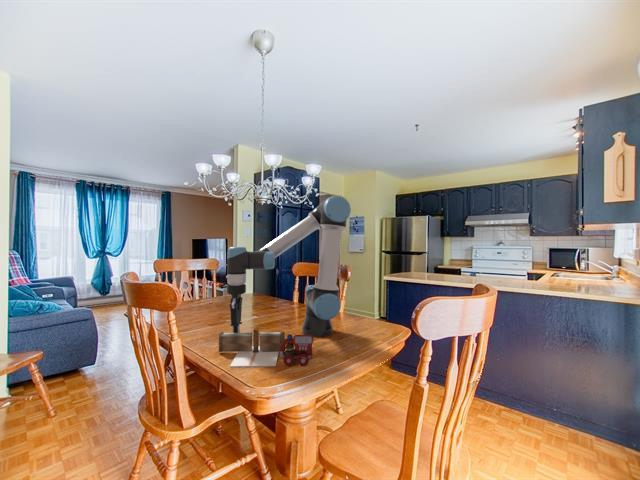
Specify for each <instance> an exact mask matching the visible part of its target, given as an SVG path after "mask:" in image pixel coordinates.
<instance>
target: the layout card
mask: <svg viewBox="0 0 640 480" xmlns="http://www.w3.org/2000/svg"><path fill="white" fill-rule="evenodd" d="M278 357H279V351H260V345H259V351H258V352H253V345H252V351H237V353H236V355H235V357H234V358H233V360H232V361H231V364H230V365H229V368H249V367H250V368H251V367H252V368H253V367H254V368H258V367H259V368H260V367H276V366H277V364H278V363H277V362H278V359H279V358H278Z"/></svg>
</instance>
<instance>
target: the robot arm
mask: <svg viewBox="0 0 640 480" xmlns="http://www.w3.org/2000/svg"><path fill="white" fill-rule="evenodd" d="M351 208H352V207H351V205H350V202H349V201H348V200H347V198H345V197H343V196H342V195H341V196H340V195H332V196H330V197H328V198H326V199H324V200H323V201H321V202H320V203H319V204H318V205H317V206H316V207H315V208H314V209H313V210H312V211H310V212H308V215H307V217H305V218H304V219H302V220H301V221H299V222H297V223H296V224H295V225H293V226H292V227H290V228H288V229H287V230H285V231H284V232H283V233H282V234H279V236H277V237H276V238H274V239H273V240H272V241H270V242H269V243H267V244H266V245H264V246H262V247H261V248H259V249H258V250H256V251H248V250H247V247H246V246H230V247H229V248H228V249H227V257H226V259H227V261H226V262H227V264H226V265H227V271H226V273H227V275H226V276H225V278H226V281H227V282H226V283H227V285H226V293H227V294H228V295H231V298H230V304H229V309H230V324H229V325H230V326H231V327H232V331H231V333H241V325H242V324H243V322H242V308H243V306H242V305H243V297H242V295H243V294H245V293H247V285H246V283H247V270H265V271H266V270H273V269H274V268H275V266H276V258H277V257H279V256H280V255H282V254H283V253H284V252H286V251H288V250H289V249H291V248H292V247H293V246H295V245H296V244H298V243H299V242H300V241H302V240H303V239H305V238H306V237H308V236H309V235H310V234H311V235H312V233H314V232H315V231H316V230H319V231H320V230H322V236H321V243H320V255H319V262H318V263H319V265H318V273H317V280H316V283H315V284H311V285H307V286H306V287H305V317H304V321H303V324H302V327H301V332H302V333H301V334H302V335H313V337H315V338H316V337H317V338H318V337H326V336H330V335H332V334H333V333H334V327H333V324H332V320H333V319H334V318H336V316H338V314H340V311H341V306H342V304H341V300H340V298H339V297H340V296H339V295H340V288H339V287H338V285H337V281H338V273H339V261H340V253H341V245H342V243H341V242H342V233H343V231H344V230H345V229H346V227H347V220H348V218H349V217H350V215H351V212H352V211H351V210H352V209H351Z"/></svg>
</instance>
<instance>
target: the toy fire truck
mask: <svg viewBox="0 0 640 480" xmlns="http://www.w3.org/2000/svg"><path fill="white" fill-rule="evenodd" d="M313 343H314V336H313V335H305V334H295V335H294V336H293V334H292V333H291V334H290V333H288V334H287V336H286V338H285V340H284V342H283V344H282V346H281V347H280V350H279V353H278V356H279V359H280V360H282V361H283V364H284V366H287V367H291V366H293V365H294V363H295V361H297V364H298V366H300V367H306V366H308V365H309V362H310V360H312V359H313Z"/></svg>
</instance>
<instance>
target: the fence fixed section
mask: <svg viewBox="0 0 640 480" xmlns="http://www.w3.org/2000/svg"><path fill="white" fill-rule="evenodd" d="M285 337H286V335H285V331H282V330H281V331H277V332H276V331H275V332H273V331H268V332H267V331H266V332H264V331H262V332H260V333H259V328H255V329H253V333H252V346H253V352H258V351H259V346H260V351H279V350H280V347H281V346H282V344H283V342H284V340H285V339H286V338H285Z"/></svg>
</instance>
